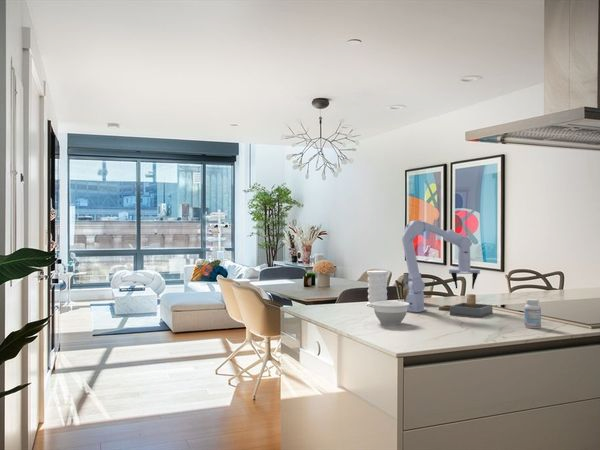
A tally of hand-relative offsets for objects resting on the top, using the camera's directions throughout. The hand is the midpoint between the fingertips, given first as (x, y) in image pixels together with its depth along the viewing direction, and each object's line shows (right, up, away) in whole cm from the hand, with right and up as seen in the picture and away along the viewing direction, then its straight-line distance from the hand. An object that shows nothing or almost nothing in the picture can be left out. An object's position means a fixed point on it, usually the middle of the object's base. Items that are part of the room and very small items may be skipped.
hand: (464, 288), depth 270 cm
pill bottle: (+12, -10, -50) cm, 52 cm away
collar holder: (-7, -11, +1) cm, 13 cm away
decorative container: (-40, -11, +19) cm, 46 cm away
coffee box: (-20, -11, +28) cm, 36 cm away
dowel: (-1, -9, -14) cm, 17 cm away
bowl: (-42, -11, -36) cm, 57 cm away
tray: (-1, -10, -14) cm, 18 cm away
